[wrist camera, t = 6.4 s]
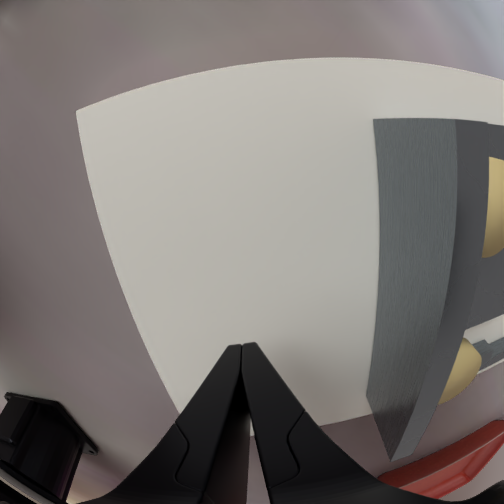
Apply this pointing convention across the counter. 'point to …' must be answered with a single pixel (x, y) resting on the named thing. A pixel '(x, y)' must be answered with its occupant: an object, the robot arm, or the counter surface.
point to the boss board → (270, 215)
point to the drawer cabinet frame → (430, 266)
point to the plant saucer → (449, 464)
